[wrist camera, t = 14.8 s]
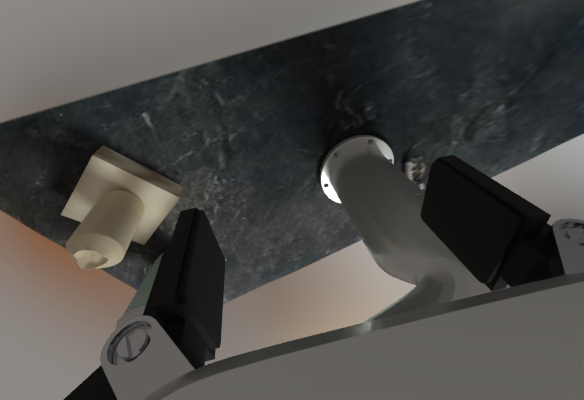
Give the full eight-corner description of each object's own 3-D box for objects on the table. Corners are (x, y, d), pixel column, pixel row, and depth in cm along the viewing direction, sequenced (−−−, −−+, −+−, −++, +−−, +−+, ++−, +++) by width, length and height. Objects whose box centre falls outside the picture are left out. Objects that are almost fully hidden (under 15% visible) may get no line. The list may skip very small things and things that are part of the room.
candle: (129, 226, 37) (100, 284, 29) (90, 205, 34) (46, 263, 26) (153, 205, 36) (130, 259, 28) (115, 181, 33) (77, 234, 25)
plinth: (183, 186, 38) (179, 197, 36) (149, 232, 42) (144, 245, 40) (102, 145, 33) (92, 155, 30) (72, 201, 36) (60, 214, 34)
